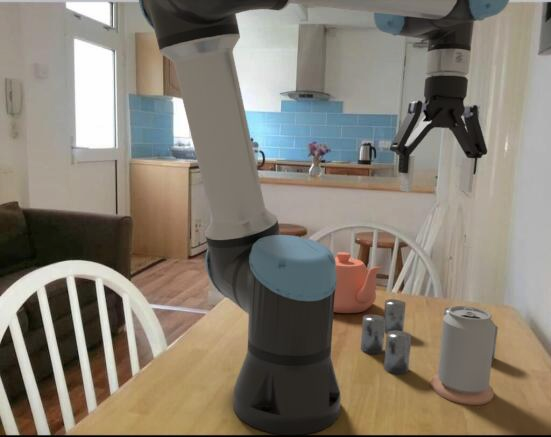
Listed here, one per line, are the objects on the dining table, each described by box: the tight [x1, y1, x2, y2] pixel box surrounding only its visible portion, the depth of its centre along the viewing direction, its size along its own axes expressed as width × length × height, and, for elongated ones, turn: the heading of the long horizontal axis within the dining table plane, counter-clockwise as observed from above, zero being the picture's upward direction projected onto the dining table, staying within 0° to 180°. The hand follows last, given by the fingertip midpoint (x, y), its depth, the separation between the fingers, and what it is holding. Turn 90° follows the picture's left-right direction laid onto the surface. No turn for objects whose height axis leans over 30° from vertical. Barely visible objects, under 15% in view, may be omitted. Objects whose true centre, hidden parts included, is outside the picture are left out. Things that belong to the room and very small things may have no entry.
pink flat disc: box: [430, 373, 494, 406], centre depth 78 cm, size 9×9×1 cm
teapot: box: [334, 251, 383, 314], centre depth 114 cm, size 22×16×12 cm
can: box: [437, 305, 496, 395], centre depth 77 cm, size 8×8×12 cm
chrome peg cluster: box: [360, 298, 499, 375], centre depth 93 cm, size 22×19×6 cm
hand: (436, 191), depth 95 cm, fingers open, 13 cm apart
